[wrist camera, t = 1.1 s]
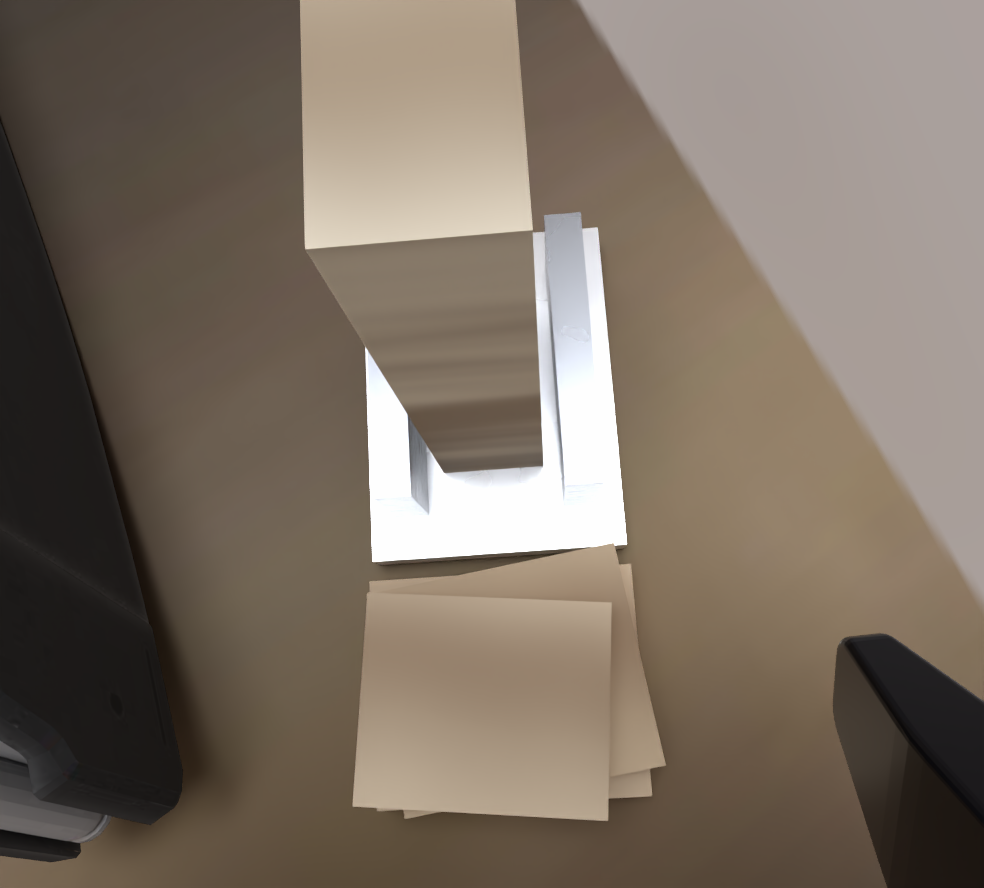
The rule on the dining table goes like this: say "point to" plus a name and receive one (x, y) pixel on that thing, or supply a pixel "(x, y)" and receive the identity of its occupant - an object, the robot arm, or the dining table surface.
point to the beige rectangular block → (428, 213)
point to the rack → (565, 432)
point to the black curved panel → (65, 586)
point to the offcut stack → (506, 692)
